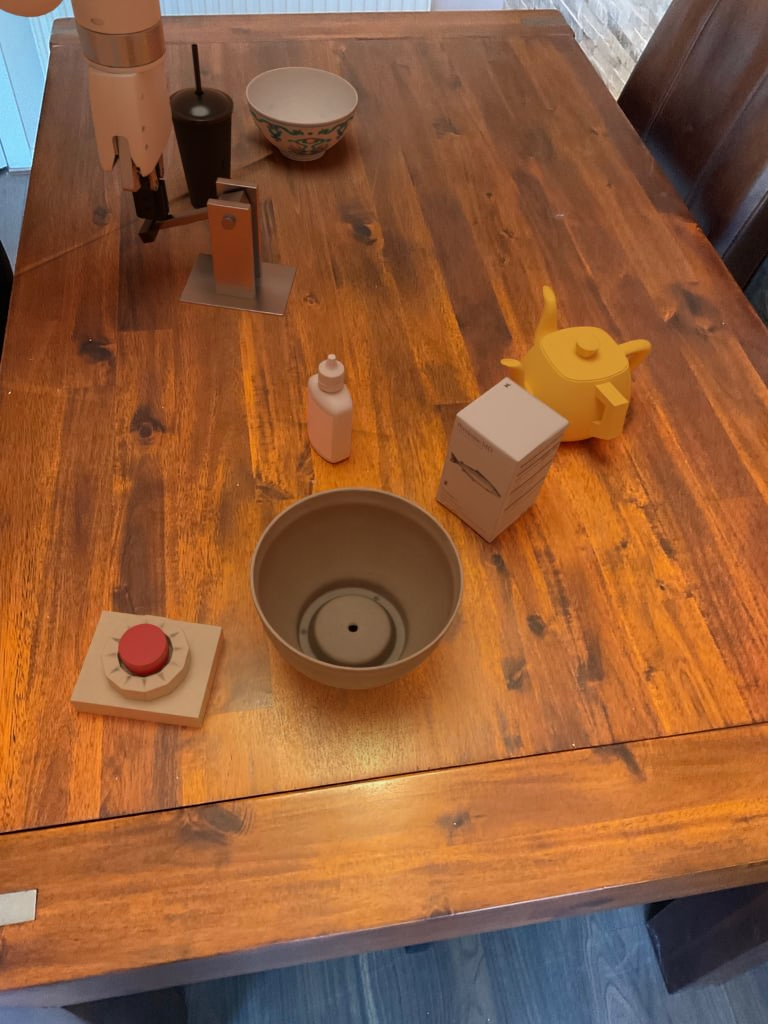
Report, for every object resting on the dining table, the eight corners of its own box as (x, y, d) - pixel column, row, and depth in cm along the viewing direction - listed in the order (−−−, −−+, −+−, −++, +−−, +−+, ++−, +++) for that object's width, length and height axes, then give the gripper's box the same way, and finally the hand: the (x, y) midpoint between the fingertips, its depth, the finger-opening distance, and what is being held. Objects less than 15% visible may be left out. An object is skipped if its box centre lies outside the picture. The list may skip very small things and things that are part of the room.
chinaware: (344, 186, 109) (346, 131, 103) (236, 168, 110) (232, 112, 103) (363, 130, 118) (366, 76, 112) (263, 113, 118) (261, 59, 112)
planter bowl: (258, 559, 73) (252, 486, 64) (432, 557, 75) (450, 486, 66) (253, 730, 64) (246, 672, 55) (453, 723, 65) (477, 665, 57)
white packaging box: (432, 500, 79) (452, 411, 68) (482, 462, 82) (507, 372, 72) (488, 547, 76) (518, 462, 66) (537, 505, 79) (572, 419, 69)
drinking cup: (171, 218, 102) (147, 53, 86) (194, 186, 106) (174, 24, 90) (228, 231, 101) (215, 67, 85) (249, 198, 106) (239, 37, 90)
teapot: (524, 350, 93) (545, 280, 85) (635, 392, 90) (668, 323, 82) (481, 428, 85) (500, 358, 77) (602, 475, 82) (634, 409, 74)
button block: (76, 711, 63) (64, 690, 60) (107, 622, 68) (98, 599, 65) (201, 728, 63) (195, 709, 60) (224, 638, 68) (220, 616, 65)
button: (116, 672, 62) (111, 662, 60) (130, 630, 64) (126, 620, 62) (162, 678, 62) (159, 668, 60) (174, 636, 64) (171, 626, 62)
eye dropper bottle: (306, 464, 80) (307, 378, 70) (307, 422, 83) (307, 334, 74) (350, 465, 80) (356, 379, 71) (349, 423, 84) (355, 336, 74)
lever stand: (180, 308, 92) (164, 209, 82) (199, 260, 97) (187, 162, 87) (283, 323, 92) (281, 225, 82) (297, 274, 97) (296, 177, 87)
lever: (146, 248, 88) (135, 229, 86) (158, 221, 91) (148, 203, 89) (245, 229, 85) (236, 209, 83) (255, 202, 88) (246, 182, 86)
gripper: (107, -3, 77) (139, 173, 92) (52, 71, 68) (98, 252, 83) (184, 7, 77) (204, 182, 92) (139, 82, 68) (169, 262, 83)
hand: (153, 215), depth 88 cm, fingers closed
